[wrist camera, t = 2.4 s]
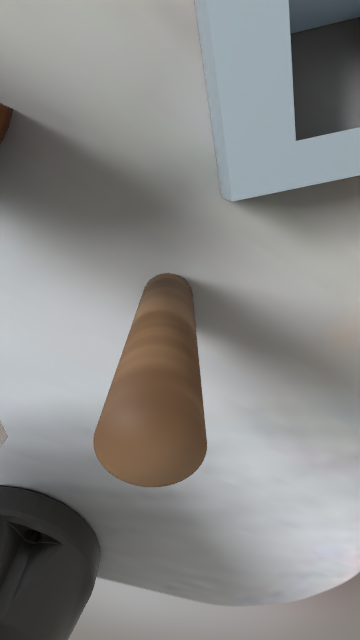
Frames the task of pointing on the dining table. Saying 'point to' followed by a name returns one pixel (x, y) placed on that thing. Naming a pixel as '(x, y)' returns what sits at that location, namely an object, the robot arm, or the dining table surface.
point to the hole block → (266, 96)
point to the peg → (156, 393)
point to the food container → (4, 120)
